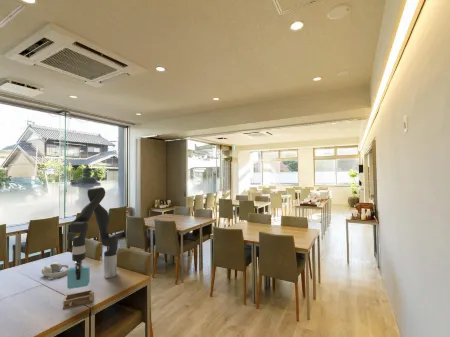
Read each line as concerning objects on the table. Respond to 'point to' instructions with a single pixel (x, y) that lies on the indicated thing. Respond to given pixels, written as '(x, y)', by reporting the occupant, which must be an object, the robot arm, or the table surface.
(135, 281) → the table surface
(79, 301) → the caddy
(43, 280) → the table surface
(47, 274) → the headphones
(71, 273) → the data package
